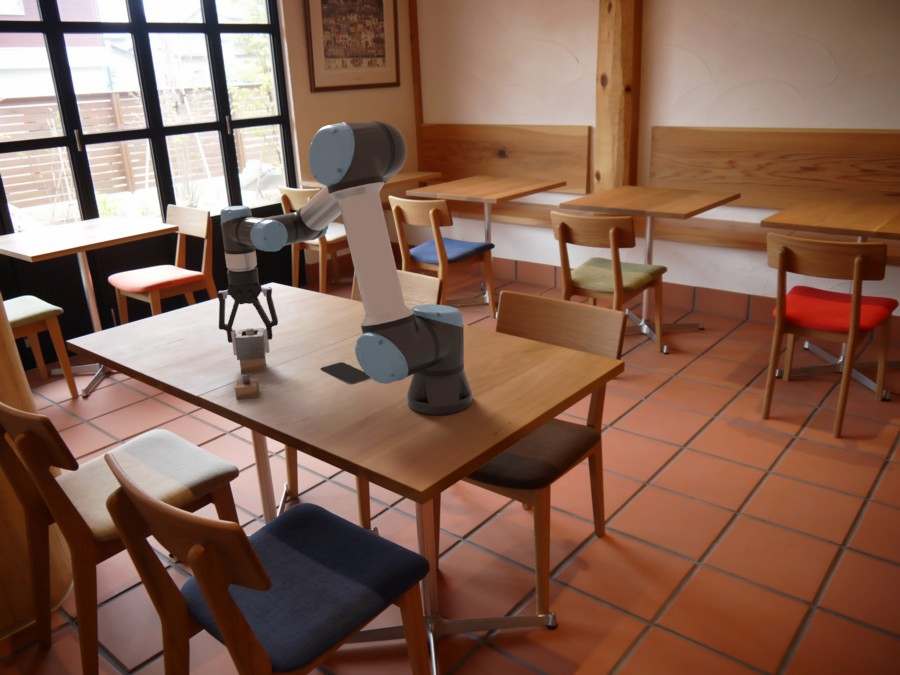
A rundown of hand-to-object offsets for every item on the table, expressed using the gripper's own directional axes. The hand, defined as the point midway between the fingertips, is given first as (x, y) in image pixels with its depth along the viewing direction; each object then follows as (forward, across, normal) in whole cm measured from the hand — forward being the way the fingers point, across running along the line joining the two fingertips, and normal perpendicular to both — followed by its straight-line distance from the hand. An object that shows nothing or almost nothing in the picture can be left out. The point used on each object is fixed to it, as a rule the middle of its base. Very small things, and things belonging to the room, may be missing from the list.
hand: (252, 352), depth 196 cm
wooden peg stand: (+5, 0, 0) cm, 5 cm away
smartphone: (+5, -24, +9) cm, 26 cm away
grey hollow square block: (+1, 0, 0) cm, 1 cm away
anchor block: (+5, 0, +18) cm, 19 cm away
